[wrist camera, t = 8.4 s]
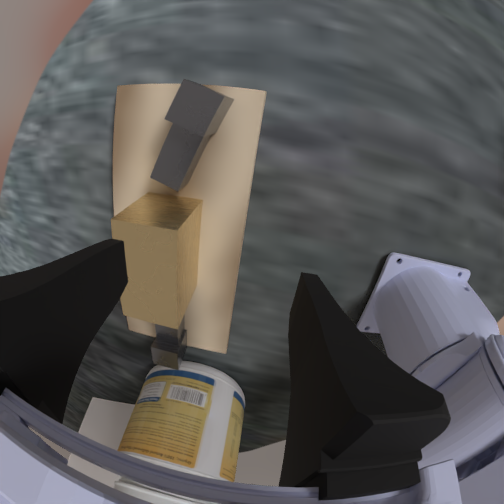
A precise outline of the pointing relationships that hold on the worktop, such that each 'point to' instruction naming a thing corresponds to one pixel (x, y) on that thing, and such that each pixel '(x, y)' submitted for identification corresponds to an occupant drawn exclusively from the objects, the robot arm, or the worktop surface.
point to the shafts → (184, 178)
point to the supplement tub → (184, 427)
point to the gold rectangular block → (159, 256)
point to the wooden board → (194, 194)
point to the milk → (102, 435)
